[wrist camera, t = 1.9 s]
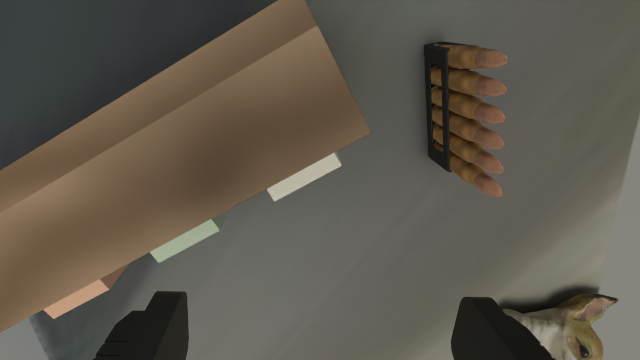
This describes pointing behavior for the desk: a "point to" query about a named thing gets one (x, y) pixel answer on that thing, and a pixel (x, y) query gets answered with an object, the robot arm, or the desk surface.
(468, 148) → the ammunition clip
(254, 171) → the keypad console
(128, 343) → the robot arm
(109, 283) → the terracotta key
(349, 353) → the desk surface
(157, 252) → the sage key
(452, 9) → the desk surface
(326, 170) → the cream key
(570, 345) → the ceramic sculpture
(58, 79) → the desk surface
